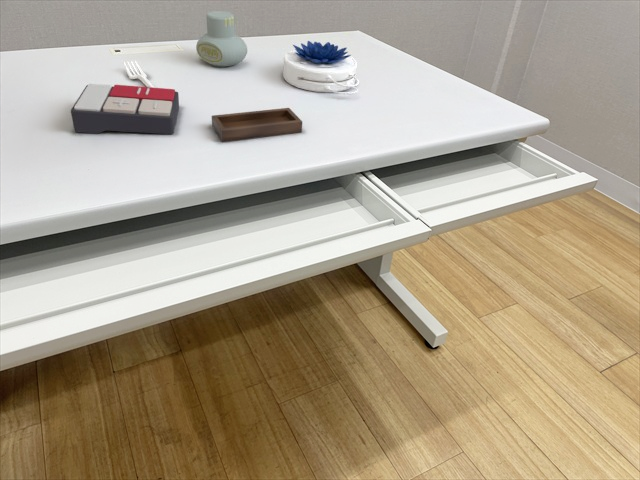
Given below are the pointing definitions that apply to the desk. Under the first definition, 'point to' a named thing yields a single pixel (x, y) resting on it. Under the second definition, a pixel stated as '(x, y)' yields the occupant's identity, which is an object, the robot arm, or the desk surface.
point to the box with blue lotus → (320, 68)
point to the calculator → (125, 109)
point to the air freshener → (221, 41)
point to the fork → (140, 76)
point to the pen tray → (256, 124)
